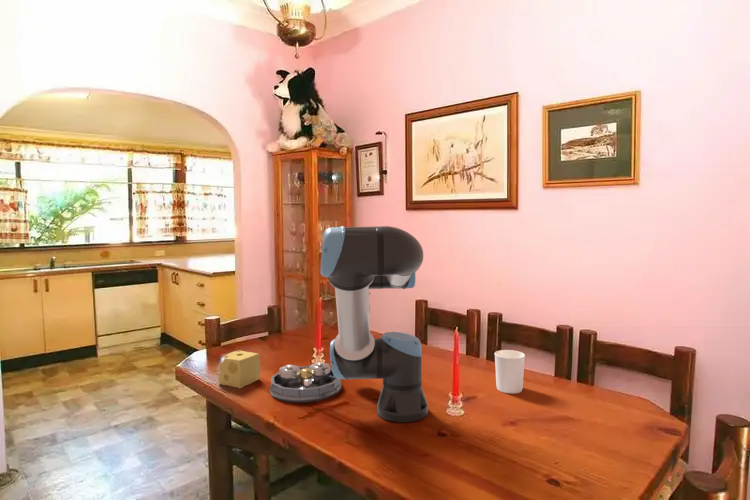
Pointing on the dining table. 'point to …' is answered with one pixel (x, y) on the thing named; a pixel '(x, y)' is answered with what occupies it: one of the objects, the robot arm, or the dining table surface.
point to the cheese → (239, 369)
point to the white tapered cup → (509, 370)
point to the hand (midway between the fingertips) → (359, 369)
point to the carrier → (304, 383)
